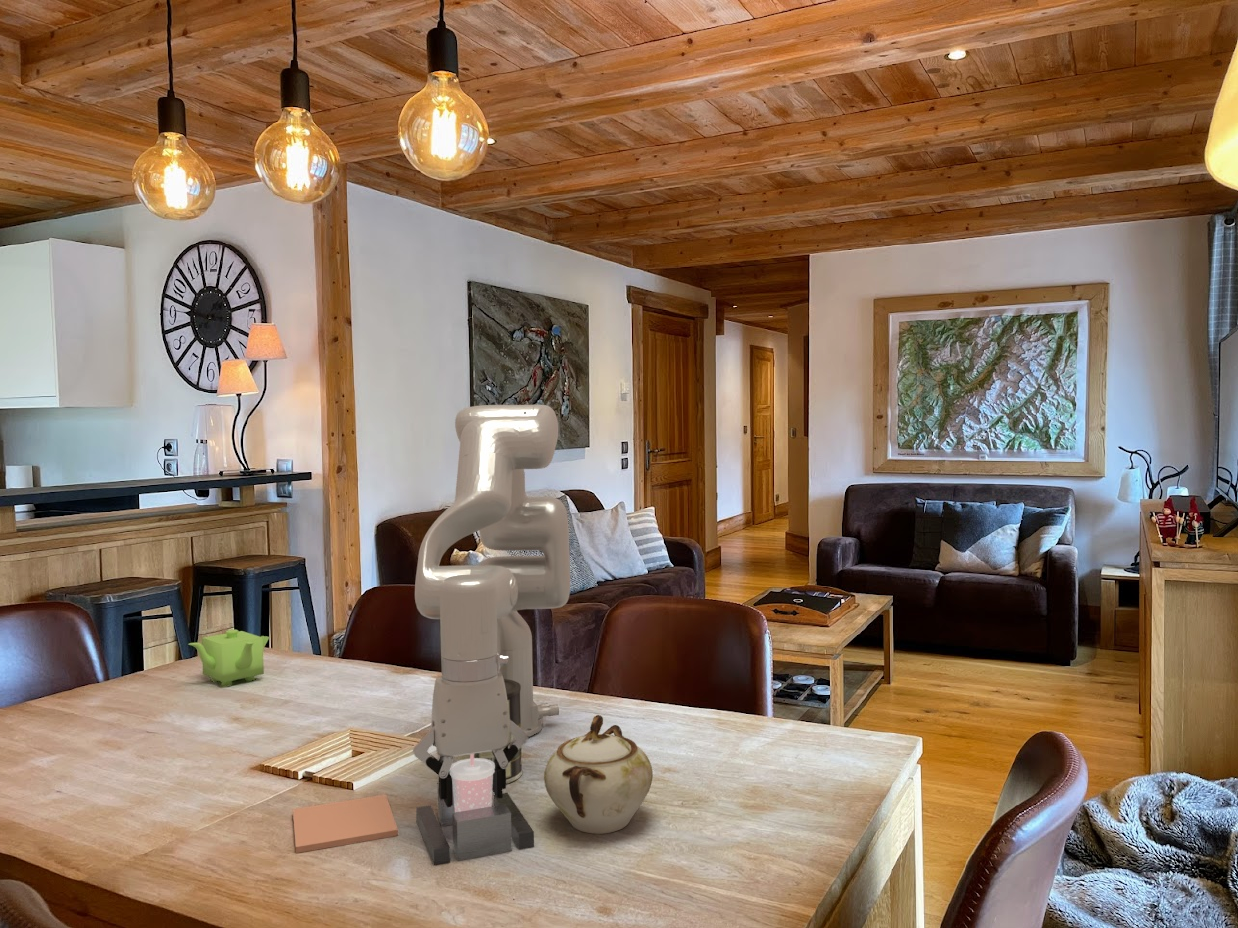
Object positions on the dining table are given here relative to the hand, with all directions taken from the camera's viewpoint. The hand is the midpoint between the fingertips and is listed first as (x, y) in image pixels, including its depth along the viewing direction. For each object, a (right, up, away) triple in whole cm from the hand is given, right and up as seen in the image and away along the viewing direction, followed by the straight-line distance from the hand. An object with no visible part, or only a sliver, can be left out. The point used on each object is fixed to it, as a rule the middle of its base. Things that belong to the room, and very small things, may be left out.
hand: (472, 797), depth 123 cm
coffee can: (-1, -4, +21) cm, 21 cm away
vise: (0, -5, 0) cm, 5 cm away
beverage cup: (0, -5, 0) cm, 5 cm away
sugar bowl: (+17, -5, +3) cm, 18 cm away
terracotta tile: (-18, -5, +3) cm, 19 cm away
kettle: (-66, -3, +79) cm, 103 cm away
